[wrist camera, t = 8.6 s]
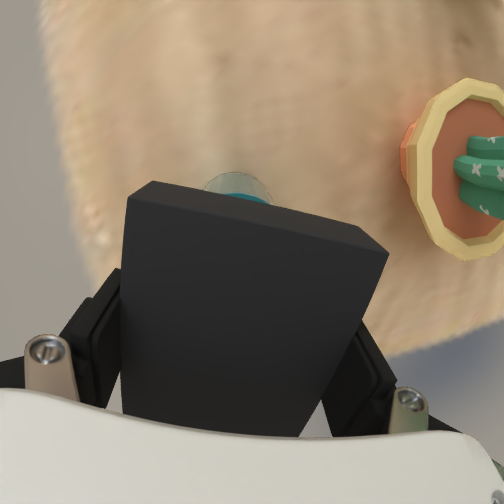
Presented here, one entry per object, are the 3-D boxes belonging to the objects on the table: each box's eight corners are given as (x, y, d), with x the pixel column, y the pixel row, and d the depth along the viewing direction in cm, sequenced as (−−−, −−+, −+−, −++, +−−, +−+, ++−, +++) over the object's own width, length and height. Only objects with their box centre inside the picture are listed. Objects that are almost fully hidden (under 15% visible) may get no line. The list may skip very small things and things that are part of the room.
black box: (358, 226, 11) (390, 253, 8) (288, 399, 14) (296, 441, 12) (151, 180, 10) (127, 196, 7) (135, 376, 13) (122, 417, 11)
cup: (279, 181, 26) (300, 206, 18) (261, 250, 29) (272, 301, 20) (205, 165, 26) (191, 182, 17) (191, 236, 28) (174, 282, 20)
